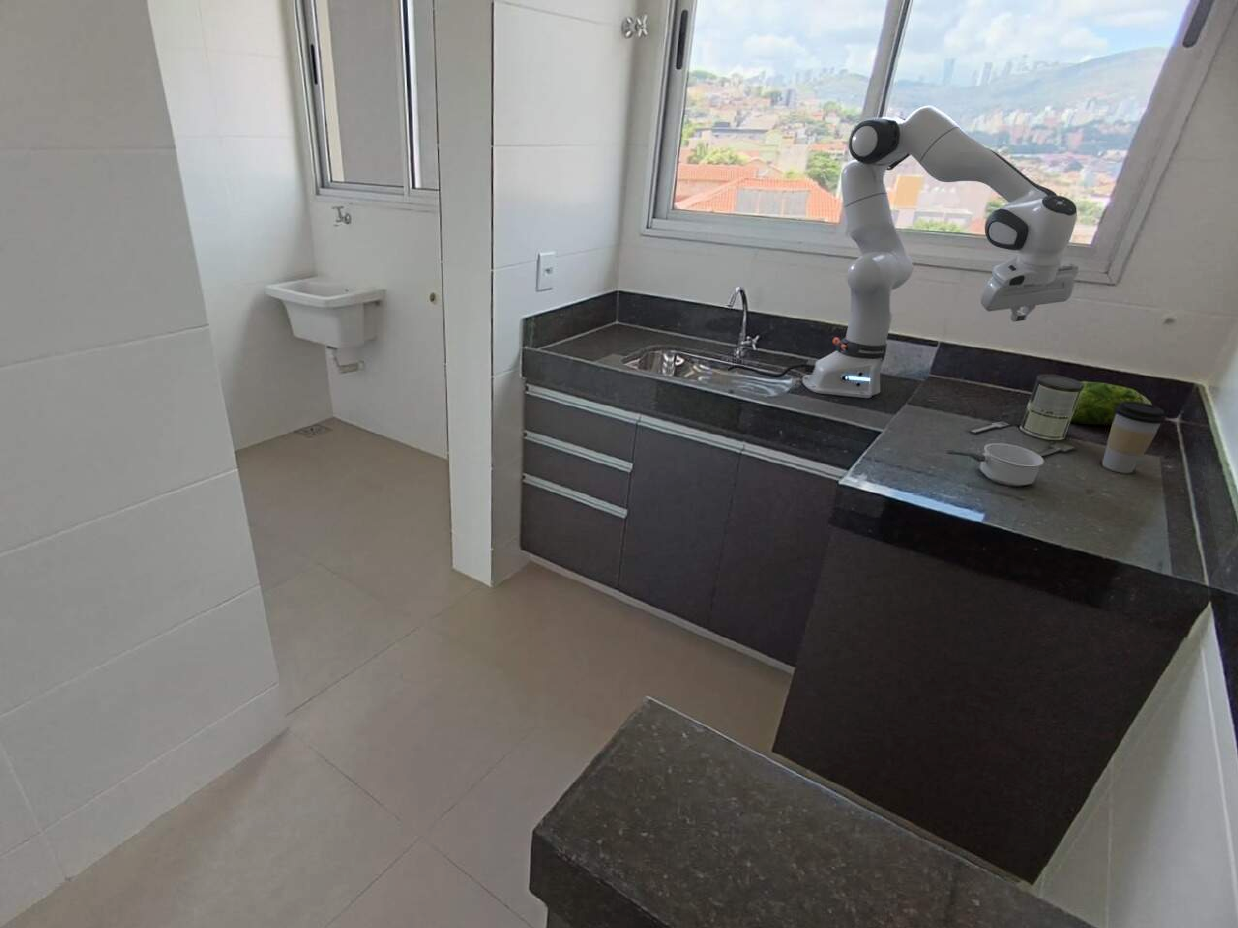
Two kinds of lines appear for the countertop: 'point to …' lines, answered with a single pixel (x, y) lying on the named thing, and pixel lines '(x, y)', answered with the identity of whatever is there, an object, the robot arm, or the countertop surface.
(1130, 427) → the coffee cup
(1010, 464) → the saucepan
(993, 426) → the fork
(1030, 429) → the coffee can
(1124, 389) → the green oval lump
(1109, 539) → the countertop surface
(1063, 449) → the spoon
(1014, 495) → the countertop surface
